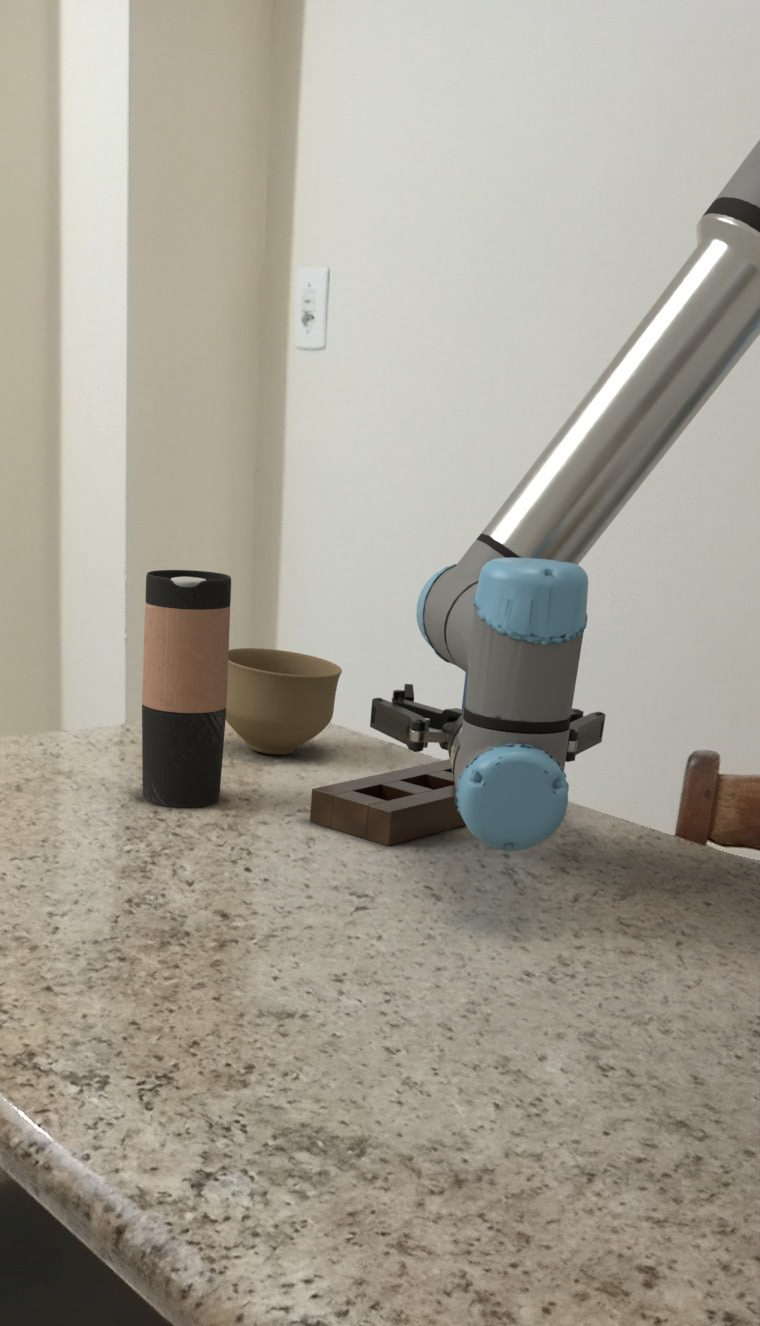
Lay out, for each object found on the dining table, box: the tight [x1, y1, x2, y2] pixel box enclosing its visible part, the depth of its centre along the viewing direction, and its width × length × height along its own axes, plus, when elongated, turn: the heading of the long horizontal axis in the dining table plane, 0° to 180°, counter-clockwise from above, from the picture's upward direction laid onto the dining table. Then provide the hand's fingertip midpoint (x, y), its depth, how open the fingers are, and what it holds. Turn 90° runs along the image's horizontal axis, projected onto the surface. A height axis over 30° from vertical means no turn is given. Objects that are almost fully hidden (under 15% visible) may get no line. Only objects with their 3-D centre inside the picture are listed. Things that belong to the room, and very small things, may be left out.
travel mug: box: [141, 569, 232, 808], centre depth 124 cm, size 8×8×20 cm
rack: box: [309, 758, 466, 846], centre depth 125 cm, size 9×22×3 cm, turn 134°
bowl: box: [225, 647, 343, 756], centre depth 144 cm, size 13×13×10 cm
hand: (480, 703), depth 128 cm, fingers open, 13 cm apart
